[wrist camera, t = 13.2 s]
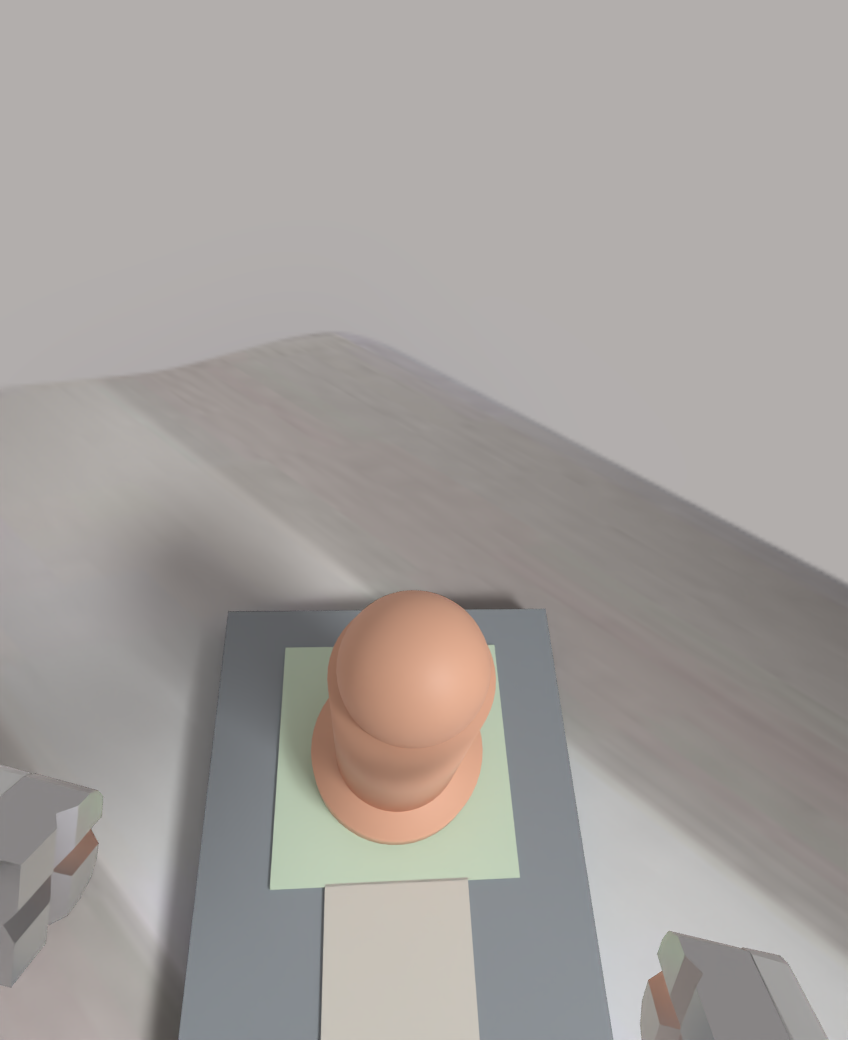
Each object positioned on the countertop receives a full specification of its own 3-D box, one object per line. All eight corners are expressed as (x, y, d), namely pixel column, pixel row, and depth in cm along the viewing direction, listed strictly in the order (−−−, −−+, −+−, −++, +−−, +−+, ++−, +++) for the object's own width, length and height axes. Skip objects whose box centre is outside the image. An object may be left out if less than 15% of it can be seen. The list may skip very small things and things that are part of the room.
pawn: (453, 662, 22) (506, 508, 14) (496, 821, 20) (589, 742, 12) (302, 692, 21) (270, 545, 13) (327, 864, 19) (304, 809, 11)
